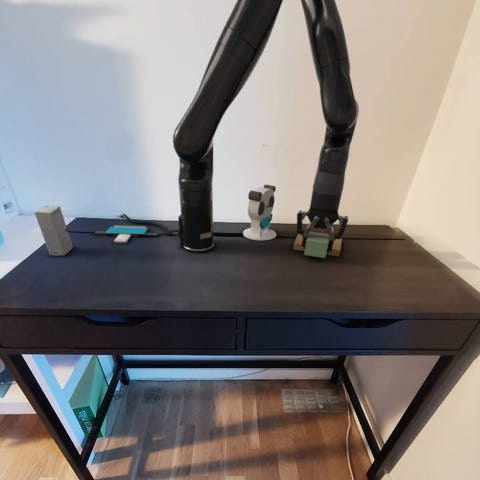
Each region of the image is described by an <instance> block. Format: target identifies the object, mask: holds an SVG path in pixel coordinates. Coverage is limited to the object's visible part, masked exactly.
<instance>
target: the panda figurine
mask: <svg viewBox="0 0 480 480" xmlns="http://www.w3.org/2000/svg"><path fill="white" fill-rule="evenodd" d="M276 189H277V188H276V186H275V185H271V184H264V185H263V187H257V188H255V189H253V190H249V192H248V196H247V197H248V205H247V214H248V215H247V216H248V217H249V219H250V227H248V228H245V229H244V230H243V231H242V235H243V237H245V238H246V239H249V240H252V241H258V242H260V241H261V242H264V241H265V242H266V241H271V240H274V239H275V238H276V237H277V233H276V231H274V230H273V229H270V226H271V221H272V219H273V209H274V205H275V201H276V199H275V193H276Z"/></svg>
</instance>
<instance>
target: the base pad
mask: <svg viewBox="0 0 480 480" xmlns="http://www.w3.org/2000/svg"><path fill="white" fill-rule="evenodd" d="M310 233H314V234H322V235H329V234H328V233H320V232H315V231H310ZM308 235H309V234H308ZM342 239H343V237H342V238H341V239H340V240H338V239H336V240H334V243H333V247H332V250H331V251H329V253H327V252H326V256H333V257H340V255H341V251H342V241H343V240H342ZM302 240H303V236H302V235H301V234H298V233H297V235H296V237H295V240H294V242H293V248H292V250H294V251H295V250H296V251H301V252H305V249H303V248H304V247H302Z"/></svg>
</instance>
